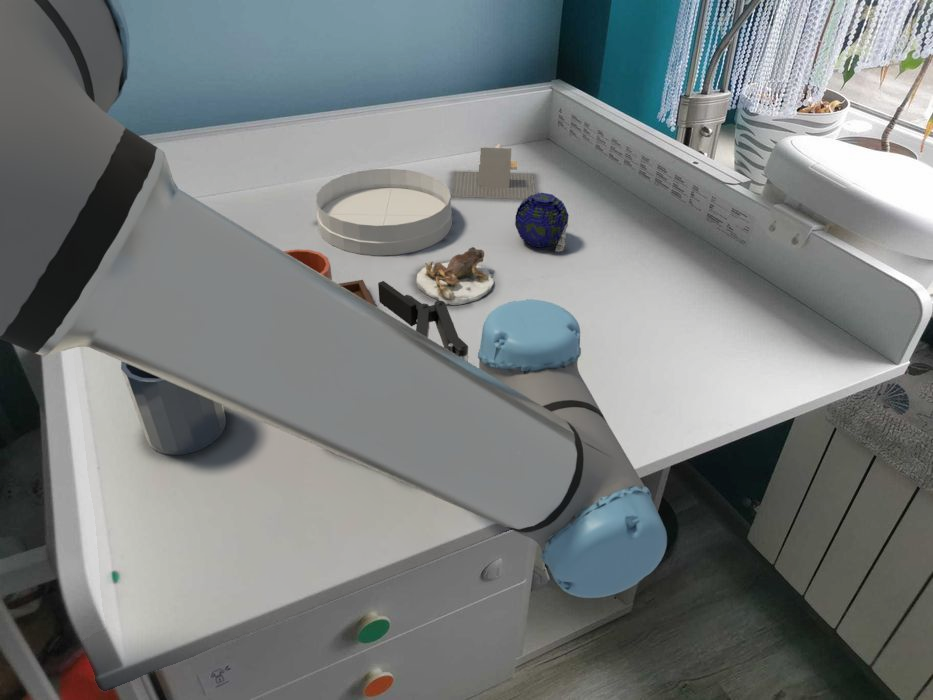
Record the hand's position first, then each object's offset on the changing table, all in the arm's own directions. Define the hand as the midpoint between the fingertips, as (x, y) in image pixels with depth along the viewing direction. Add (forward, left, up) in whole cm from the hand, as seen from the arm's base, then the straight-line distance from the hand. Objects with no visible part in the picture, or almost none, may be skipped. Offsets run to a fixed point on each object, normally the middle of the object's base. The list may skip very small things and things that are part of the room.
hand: (331, 310), depth 80 cm
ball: (+37, +22, -9) cm, 44 cm away
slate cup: (-18, -5, -9) cm, 20 cm away
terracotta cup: (-3, +8, -8) cm, 12 cm away
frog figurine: (+20, +15, -9) cm, 27 cm away
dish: (+15, +36, -9) cm, 40 cm away
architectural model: (+38, +45, -9) cm, 60 cm away
